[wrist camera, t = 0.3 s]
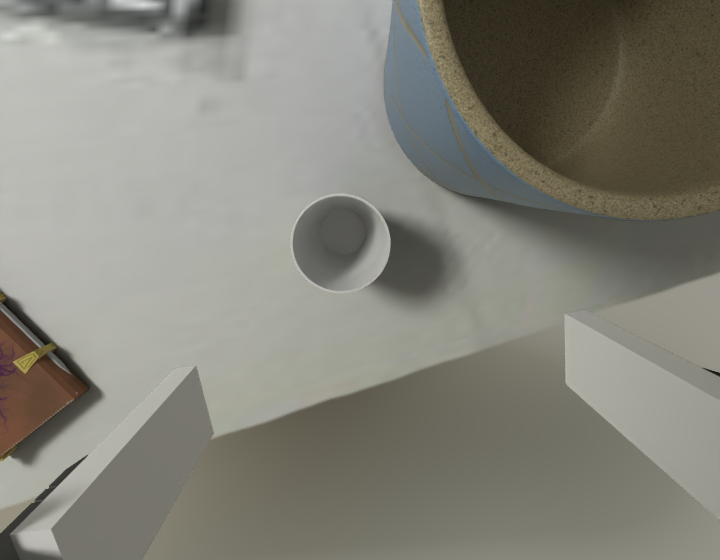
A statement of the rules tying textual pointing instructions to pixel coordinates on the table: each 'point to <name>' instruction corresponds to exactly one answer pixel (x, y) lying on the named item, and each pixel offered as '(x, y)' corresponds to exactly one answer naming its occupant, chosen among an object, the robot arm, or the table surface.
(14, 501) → the table surface
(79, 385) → the book
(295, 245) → the cup
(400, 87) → the planter
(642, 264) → the table surface
